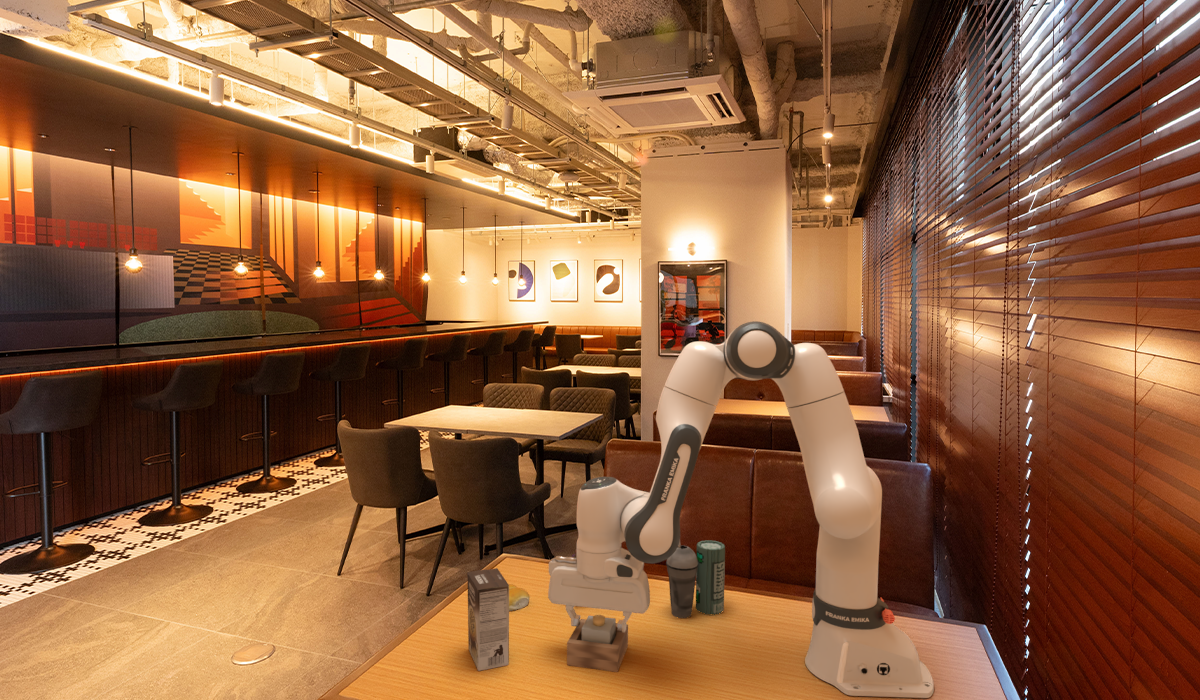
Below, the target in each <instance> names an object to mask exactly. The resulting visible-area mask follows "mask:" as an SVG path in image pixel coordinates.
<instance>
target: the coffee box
mask: <svg viewBox="0 0 1200 700" xmlns="http://www.w3.org/2000/svg"><path fill="white" fill-rule="evenodd" d="M466 574H467V618H468V619H467V620H468V621H467V626H468V627H467V631H468V633H467V635H468V636H467V637H468V642H467V643H468V644H467V645H468V651H469V653H470V656H471V657H472V660H473V662H474V663H473V664H474V665H475V667H476V670H477V672H481V671H486V670H489V669H490V670H491V669H494V668H495V669H496V668H500V667H505V666H509V664H510V663H509V662H510V651H509V649H510V648H509V647H510V646H509V645H510V642H509V641H510V611H509V583H508V581H507V580H506V579H505V578H504V576H503V574H502V573H501V571H500V569H498V568H497V567H496V568H491V569H480V570H473V571H469V572H467V573H466Z"/></svg>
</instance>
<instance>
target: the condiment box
mask: <svg viewBox="0 0 1200 700" xmlns="http://www.w3.org/2000/svg"><path fill="white" fill-rule="evenodd" d="M586 620H587V618H586V619H585V618H580V625H579V627H576V626H575V628H574V630H573V632H572V633H571V634H570V637H569V639H568V640H567V643H566V665H567V666H572V667H579V668H586V669H593V670H599V671H607V672H614V673H618V671H619V669H620V667H621V664H622V662H623V659H624V657H625V654H626V652H627V650H628V646H629V624H628V623H626V631H625V632H618V631H617V629H618V627H617V624H618V622H616V637H615V639H614V641H613V644H612V645H611V644H604V643H596V642H588V641H582V627H583V625H584V623H585V621H586Z"/></svg>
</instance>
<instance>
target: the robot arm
mask: <svg viewBox="0 0 1200 700" xmlns="http://www.w3.org/2000/svg"><path fill="white" fill-rule="evenodd" d="M733 379H738V380H746V381H759V380H764V379H767V380H768V379H771V380H772V381H774V383H775V384H776V385H777V386H778V388H779V391H780V392H781V395H782V396H783V399H784V403H785V406H786V409H787V411H788V415H789V419H790V422H791V424H792V427H793V430H794V432H795V436H796V439H797V441H798V442H797V443H798V445H799V446H798V447H799V448H800V453H801V457H802V462H803V467H804V468H803V469H804V471H805V476H806V481H807V485H808V489H809V493H810V494H809V495H810V497H811V501H812V504H813V505H812V506H813V510H814V514H815V518H816V521H817V523H818V525H819V531H818V539H817V547H816V563H815V564H816V568H815V571H816V572H815V589H814V591H813V597H812V599H811V601H812V602H811V607H812V608H811V618H812V621H813V625H812V626H813V627H812V632H811V638H810V643H809V646H808V650H807V653H806V655H805V659H804V662H805V666H806V668H807V669H808V671H810V673H811V674H813V675H814V676H815V677H816V678H818V679H820V680H821V681H824V682H826V683H828V684H830V685H832V686H834V687H836V688H837V689H838V690H839V691H840V692H842V693H844V695H848V696H851V697H853V696H854V697H858V696H859V697H880V698H881V697H882V698H883V697H885V698H890V697H891V698H912V699H913V698H917V699H920V698H921V699H927V698H931V696H933V694H934V690H935V689H934V688H935V686H934V679H933V676H932V674H931V672H930V670H929V668H928V667H927V666H926V665H925V664H924V662H923V661H921V660H920V656H919V653H918V650H917V647H916V645H915V644H914V642H913V641H912V639H911V638H910V636H909V635H908V634H907V633H906V632H904V631H902V629H900V628H899V627H898V626H896V625H895V624H894V622H895V621H896V618H895V615H894V613H893V611H892V610H891V609H889V606H888V604H887V603H886V602H885V600H884V599H883V598H882V597H880V598H879V597H878V588H879V587H878V586H879V585H878V584H879V558H880V556H879V555H880V543H881V542H880V541H881V522H882V519H881V518H882V503H883V501H882V500H883V487H882V483H881V481H880V479H879V477H878V475H877V474H876V473H875V471H874V470H873V469H872V468H870V466H868V465H867V462H866V459H865V456H864V451H863V447H862V442H861V439H860V435H859V434H860V433H859V430H858V427H857V424H856V422H855V418H854V416H853V411H852V409H851V406H850V404H849V400H848V398H847V395H846V393H845V389H844V388H843V387H844V386H843V384H842V382H841V380H840V377H839V375H838V372H837V370H836V369H835V366H834V364H833V362H832V361H831V359H830V357H829V355H828V354H827V352H826V350H825V349H824V348H823V347H822V346H820V345H819V344H817V343H813V342H812V343H811V342H802V343H797V344H794V343H793V342H791V341H790V340H789V339H788V338H786V336H785V335H783V334H782V333H781V332H780V331H779V330H777V329H776V327H774V326H772V325H770V324H769V323H766V322H763V321H756V320H755V321H747V322H744V323H742V324H740V325H739V326H738V327H736V328H734V329H733V330H732V331H731V332H730V333H729V335H728V336H727V338H726V339H725V340H723V342H721V343H720V344H715V343H711V342H708V341H699V340H698V341H692V342H690V343H688V344H686V345H685V346H684V347H683V348H682V350H681V351H680V353H679V355H678V357H677V359H675V362H674V363H673V366H672V368H671V369H670V372H669V373H668V376H667V378H666V380H665V383H664V386H663V388H662V391H661V393H660V396H659V399H658V405H657V410H656V415H655V421H656V426H657V428H658V429H657V430H658V433H659V436H660V443H661V445H660V446H661V452H660V453H661V454H660V460H659V464H658V467H657V470H656V473H655V476H654V479H653V482H652V484H651V488H650V491H643V490H639V489H635V488H632V487H630V486H628V485H625V484H624V483H622V482H621V481H620V480H618V479H617V478H615V477H613V476H599V477H595V478H591V479H589V480H588V481H586V482H584V483H583V484H582V485H581V486H580V489H579V491H578V495H577V504H576V527H577V531H578V538H577V541H576V550H577V558H576V557H572V556H562V555H556V556H555V557H553V558H551V559H550V560H549V562H548V573H549V576H550V578H549V583H548V592H547V595H548V597H547V598H548V599H549V601H550V602H551V604H556V605H564V606H565V610H566V613H567V615H568V616H569V618H570V625H571V627H575V628H576V627H579V625H580V620H581V614H577V612H576V610H575V607H581V608H582V607H583V608H589V609H598V610H607V611H617V612H622V616H623V617H624V618H623V619H618V622H617V623H618V624H617V627H618V629H617V631H618V632H625V631H626V624H628V621H629V619H630V617H631V615H632V614H633V613H634V614H642V615H643V614H645V613H646V612H647V611H648V609H649V608H650V604H651V591H650V583H649V578H648V575H647V573H646V572H645V570H644V566H645V564H658V563H661V562H664V561H667V558H669V557H670V556H671V555H672V554H673V553H674V552H675V551H676V549H677V547H678V545H679V541H680V542H681V525H680V524H681V511H682V509H683V504H684V502H685V500H686V499H685V498H686V495H687V492H688V490H689V486H690V483H691V480H692V477H693V473H694V471H695V467H696V464H697V460H698V456H699V453H700V450H701V449H702V445H703V442H704V439H705V437H706V433H707V432H708V430H709V427H710V424H711V423H712V418H713V417H714V414H715V412H716V409H717V406H718V404H719V401H720V398H721V396H722V393H723V391H724V389H725V387H726V386H727V384H728V383H729V382H730V381H731V380H733ZM623 542H625V545H626V546H625V547H626V548H627V549H625V548H623V547H622V543H623Z"/></svg>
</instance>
